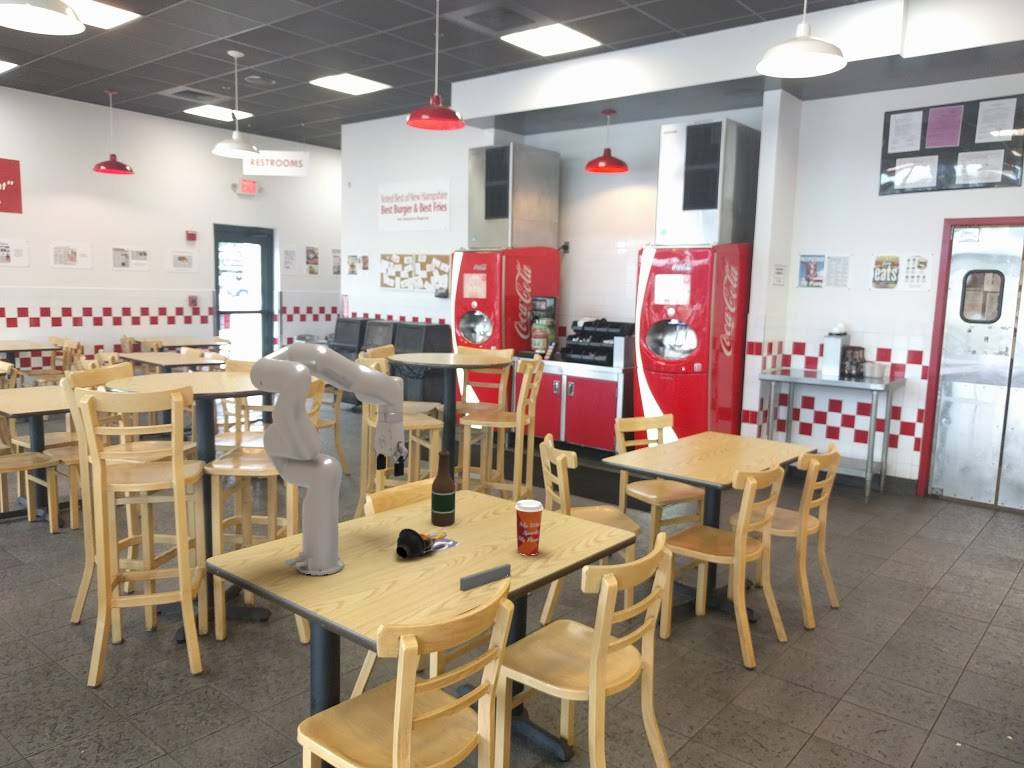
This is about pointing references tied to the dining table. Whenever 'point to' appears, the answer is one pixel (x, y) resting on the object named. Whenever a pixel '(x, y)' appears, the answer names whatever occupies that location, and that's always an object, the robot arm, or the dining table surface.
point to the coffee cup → (528, 526)
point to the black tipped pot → (415, 543)
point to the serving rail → (484, 577)
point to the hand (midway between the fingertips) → (389, 472)
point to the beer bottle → (443, 494)
